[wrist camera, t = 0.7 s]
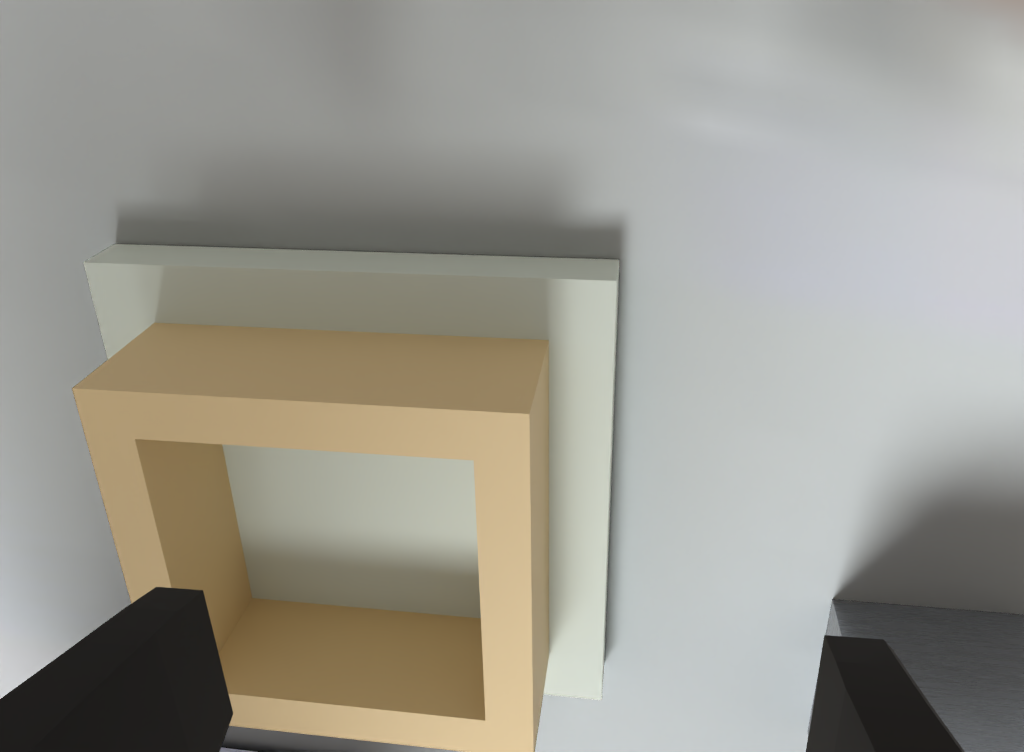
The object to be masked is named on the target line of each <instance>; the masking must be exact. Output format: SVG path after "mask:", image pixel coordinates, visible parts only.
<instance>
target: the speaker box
mask: <svg viewBox="0 0 1024 752" xmlns="http://www.w3.org/2000/svg"><path fill="white" fill-rule="evenodd" d="M826 635H829V636H843V637H857V638H871V639H884V640H885V641H886V642H887V644H888V645H889V646H890V647H891V648H892V649H893V650H894V652H895V653H896V655H897V656H898V658H899V659H900V661H901V662H902V664H903V665H904V667H905V668H906V670H907V671H908V672H909V674H910V675H911V677H912V678H913V680H914V681H915V683H916V684H917V686H918V687H919V688H920V690H921V691H922V693H923V694H924V696H925V697H926V698H927V700H928V701H929V703H930V704H931V706H932V707H933V708H934V710H935V711H936V713H937V714H938V715H939V717H940V718H941V720H942V721H943V722H944V724H945V725H946V727H947V728H948V729H949V731H950V732H951V733H952V735H953V736H954V738H955V739H956V740H957V742H958V743H959V744H960V746H961V747H962V749H963V750H964V751H965V752H1024V615H1020V614H1008V613H996V612H983V611H971V610H959V609H947V608H934V607H922V606H910V605H897V604H885V603H873V602H860V601H848V600H836V599H832V604H831V609H830V614H829V620H828V625H827V630H826ZM816 686H817V684H816ZM815 692H816V689H815ZM814 698H815V695H814ZM813 705H814V700H813ZM813 705H812V711H813ZM812 711H811V716H810V722H809V727H808V735H809V730H810V723H811V717H812Z"/></svg>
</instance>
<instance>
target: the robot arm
mask: <svg viewBox="0 0 1024 752" xmlns="http://www.w3.org/2000/svg"><path fill="white" fill-rule="evenodd" d="M232 716H233V710H232V706H231V702H230V698H229V694H228V690H227V686H226V681H225V677H224V673H223V669H222V665H221V661H220V657H219V653H218V649H217V645H216V641H215V637H214V633H213V629H212V624H211V620H210V616H209V612H208V608H207V604H206V600H205V596H204V592H203V590H193V589H179V588H166V587H155V588H154V589H152V590H151V591H149V592H148V593H146V594H145V595H143V596H142V597H140V598H139V599H137V600H136V601H135V602H133V603H132V604H130V605H129V606H127V607H126V608H125V609H123V610H122V611H120V612H119V613H118V614H116V615H115V616H114V617H112V618H111V619H109V620H108V621H107V622H105V623H104V624H103V625H101V626H100V627H98V628H97V629H96V630H94V631H93V632H92V633H90V634H89V635H88V636H86V637H85V638H84V639H82V640H81V641H79V642H78V643H77V644H75V645H74V646H73V647H71V648H70V649H69V650H67V651H66V652H65V653H63V654H62V655H60V656H59V657H58V658H56V659H55V660H54V661H52V662H51V663H49V664H48V665H47V666H45V667H44V668H43V669H41V670H40V671H38V672H37V673H36V674H34V675H33V676H32V677H30V678H29V679H27V680H26V681H25V682H23V683H22V684H20V685H19V686H18V687H16V688H15V689H14V690H12V691H11V692H9V693H8V694H7V695H5V696H4V697H3V698H1V699H0V752H256V751H248V750H239V749H230V748H221V746H222V743H223V741H224V738H225V735H226V732H227V730H228V727H229V724H230V721H231V719H232ZM806 752H965V751H964V750H963V749H962V747H961V746H960V744H959V743H958V742H957V740H956V739H955V738H954V736H953V735H952V733H951V732H950V731H949V729H948V728H947V727H946V725H945V724H944V722H943V721H942V720H941V718H940V717H939V715H938V714H937V713H936V711H935V710H934V708H933V707H932V706H931V704H930V703H929V701H928V700H927V698H926V697H925V696H924V694H923V693H922V691H921V690H920V688H919V687H918V686H917V684H916V683H915V681H914V680H913V678H912V677H911V675H910V674H909V672H908V671H907V670H906V668H905V667H904V665H903V664H902V662H901V661H900V659H899V658H898V656H897V655H896V653H895V652H894V650H893V649H892V648H891V647H890V646H889V645H888V644H887V642H886V641H885V640H884V639H871V638H857V637H843V636H829V635H825V636H824V642H823V648H822V654H821V661H820V667H819V673H818V679H817V686H816V692H815V698H814V705H813V711H812V717H811V723H810V730H809V736H808V742H807V748H806Z"/></svg>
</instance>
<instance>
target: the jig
mask: <svg viewBox="0 0 1024 752" xmlns="http://www.w3.org/2000/svg"><path fill="white" fill-rule="evenodd" d="M83 264H84V268H85V272H86V276H87V280H88V284H89V288H90V292H91V296H92V300H93V304H94V308H95V312H96V316H97V319H98V323H99V327H100V331H101V335H102V339H103V343H104V347H105V351H106V355H107V359H108V360H107V361H106V362H105V363H103V364H102V365H101V366H100V367H98V368H97V369H96V370H94V371H93V372H92V373H91V374H89V375H88V376H87V377H86V378H84V379H83V380H82V381H81V382H79V383H78V384H77V385H76V386H74V387H73V388H72V390H73V394H74V398H75V401H76V405H77V408H78V412H79V416H80V419H81V423H82V427H83V430H84V434H85V437H86V441H87V445H88V448H89V452H90V455H91V459H92V463H93V466H94V470H95V474H96V477H97V481H98V484H99V488H100V492H101V495H102V499H103V503H104V506H105V510H106V513H107V517H108V521H109V524H110V528H111V531H112V535H113V539H114V542H115V546H116V550H117V553H118V557H119V560H120V564H121V568H122V571H123V575H124V578H125V582H126V586H127V589H128V593H129V597H130V600H131V604H132V603H133V602H135V601H136V600H137V599H139V598H140V597H142V596H143V595H145V594H146V593H148V592H149V591H151V590H152V589H154V588H155V587H166V588H179V589H193V590H203V592H204V596H205V600H206V604H207V608H208V612H209V616H210V620H211V624H212V629H213V633H214V637H215V641H216V645H217V649H218V653H219V657H220V661H221V665H222V669H223V673H224V677H225V681H226V686H227V690H228V694H229V698H230V702H231V706H232V710H233V716H232V719H231V721H230V724H229V726H237V727H246V728H255V729H264V730H273V731H282V732H291V733H300V734H309V735H318V736H327V737H336V738H346V739H355V740H364V741H373V742H382V743H391V744H400V745H409V746H418V747H427V748H436V749H445V750H454V751H463V752H535V746H536V739H537V733H538V726H539V719H540V713H541V706H542V699H543V695H553V696H563V697H573V698H583V699H593V700H602V687H603V674H604V657H605V630H606V604H607V577H608V550H609V524H610V497H611V471H612V444H613V418H614V391H615V365H616V338H617V311H618V285H619V260H615V259H583V258H551V257H519V256H487V255H455V254H423V253H391V252H359V251H327V250H294V249H262V248H230V247H198V246H166V245H134V244H113V245H112V246H110V247H108V248H107V249H105V250H103V251H102V252H100V253H98V254H97V255H95V256H93V257H92V258H90V259H88V260H87V261H85V262H83Z"/></svg>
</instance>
